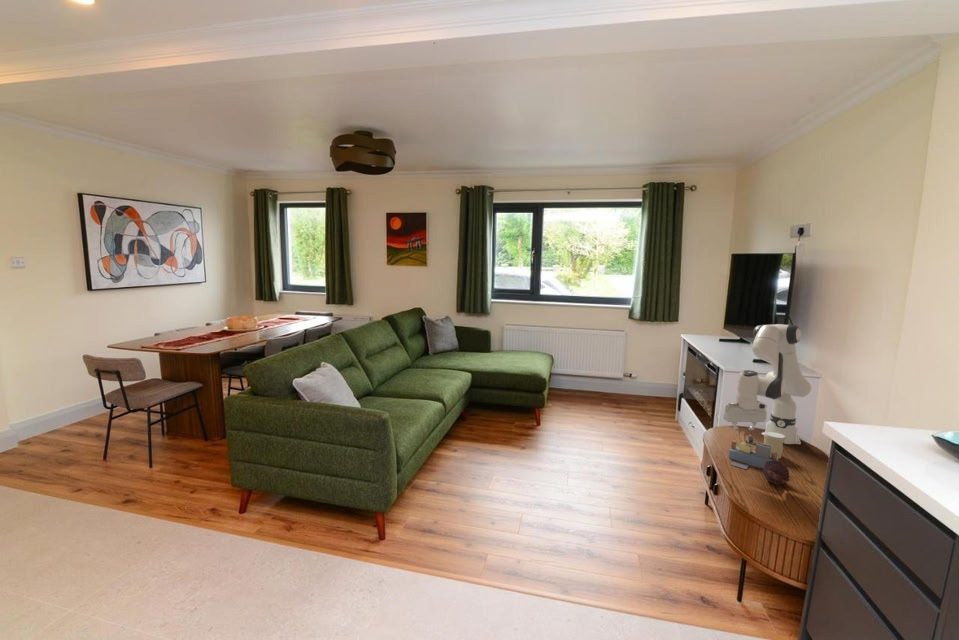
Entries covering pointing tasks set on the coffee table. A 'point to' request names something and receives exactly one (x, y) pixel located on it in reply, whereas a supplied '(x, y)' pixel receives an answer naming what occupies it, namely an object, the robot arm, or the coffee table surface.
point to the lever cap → (745, 448)
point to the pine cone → (776, 472)
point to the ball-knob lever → (750, 441)
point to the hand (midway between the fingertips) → (743, 429)
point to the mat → (739, 465)
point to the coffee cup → (775, 442)
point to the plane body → (753, 455)
